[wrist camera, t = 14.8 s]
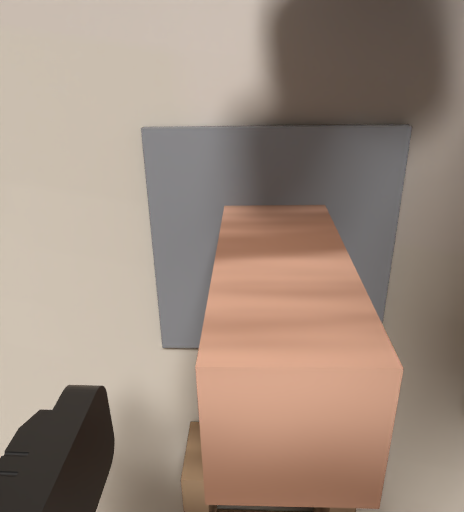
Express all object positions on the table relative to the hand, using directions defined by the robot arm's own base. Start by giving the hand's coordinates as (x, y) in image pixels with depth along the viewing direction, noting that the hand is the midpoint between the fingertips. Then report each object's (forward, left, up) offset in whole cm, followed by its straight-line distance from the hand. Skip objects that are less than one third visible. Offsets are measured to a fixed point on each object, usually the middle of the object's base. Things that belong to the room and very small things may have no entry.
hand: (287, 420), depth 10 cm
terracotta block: (0, 0, -10) cm, 10 cm away
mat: (0, 0, -10) cm, 10 cm away
